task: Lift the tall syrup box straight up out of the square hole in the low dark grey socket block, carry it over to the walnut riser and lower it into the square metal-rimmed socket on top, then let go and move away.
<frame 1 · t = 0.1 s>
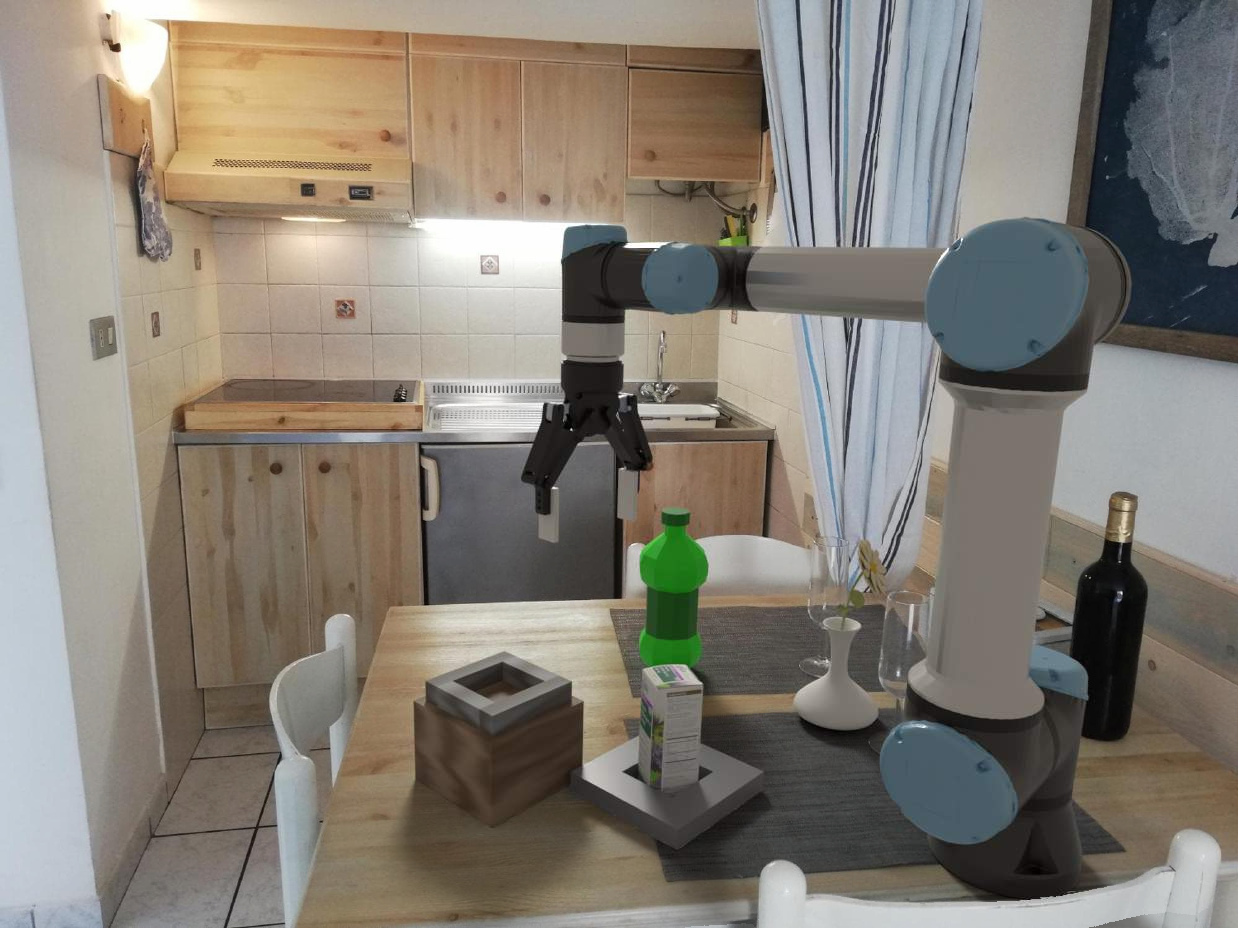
hand: (589, 529, 116), 28 cm above the table, tool pointing down, fingers open, 13 cm apart
plastic bottle: (669, 670, 142), on the table
low socket block: (666, 790, 109), on the table
flower in vase: (838, 717, 129), on the table
raised socket: (499, 777, 111), on the table
syrup box: (667, 790, 109), resting in low socket block
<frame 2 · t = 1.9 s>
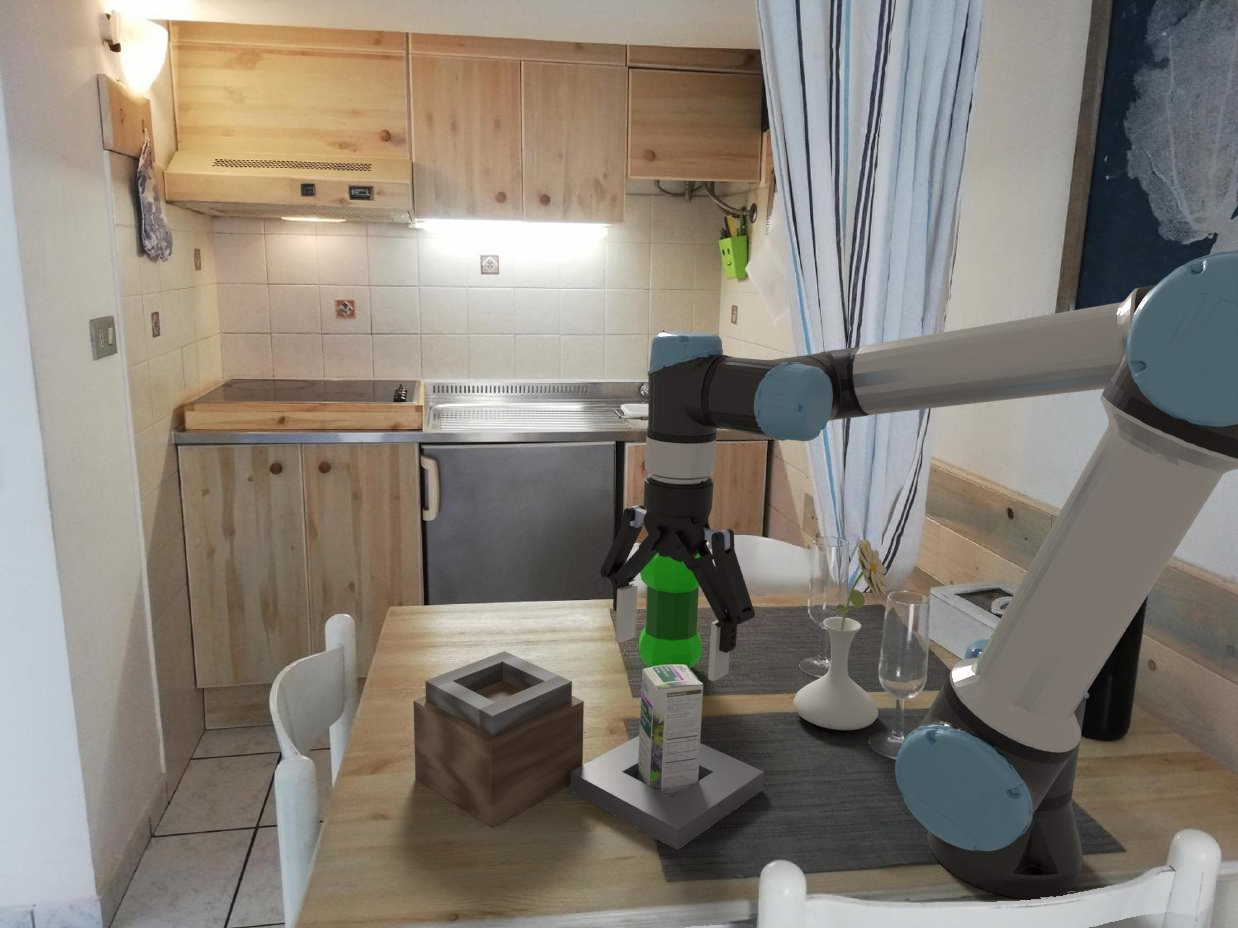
hand: (669, 657, 106), 17 cm above the table, tool pointing down, fingers open, 13 cm apart
nothing on the table moved.
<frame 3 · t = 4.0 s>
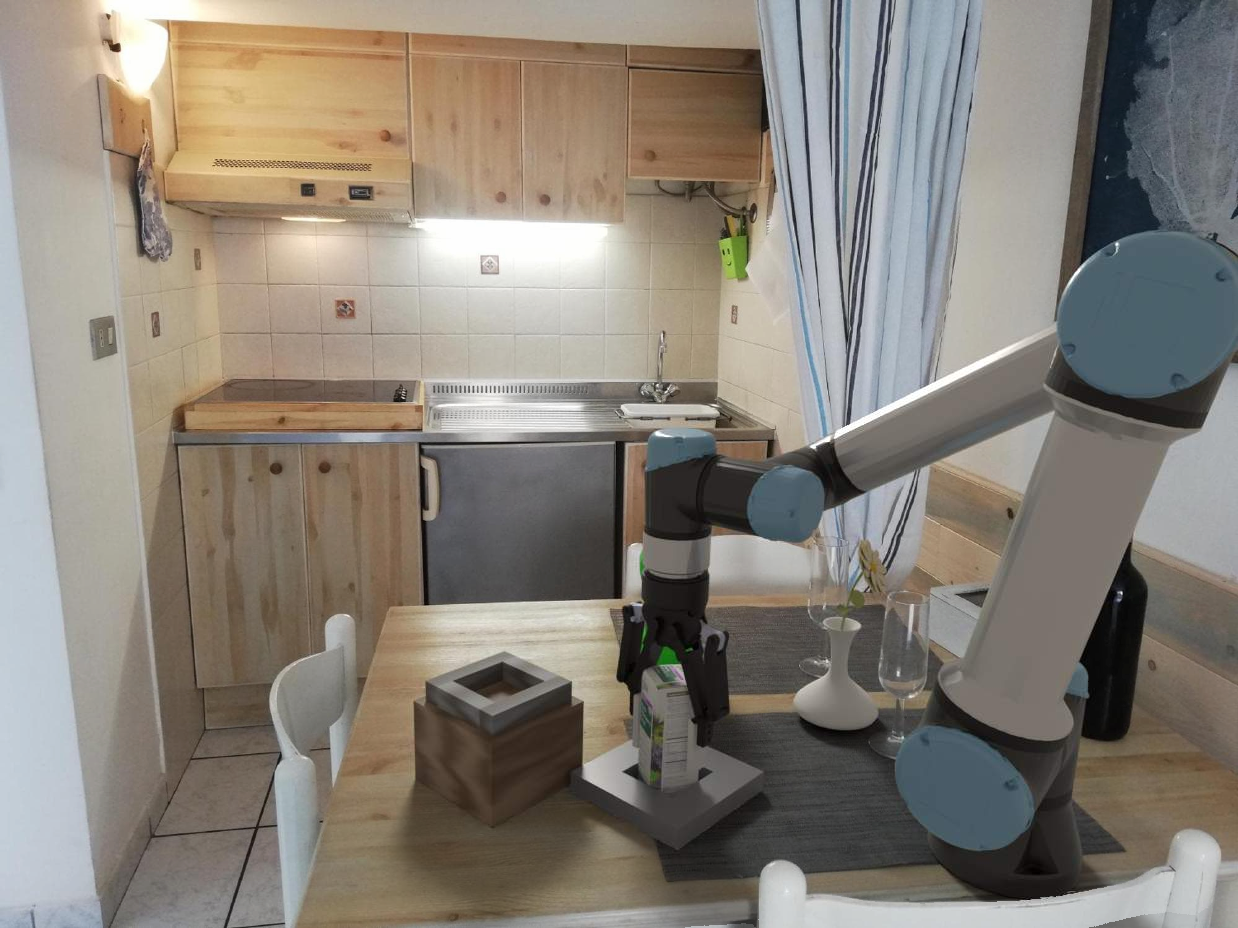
hand: (668, 755, 108), 5 cm above the table, tool pointing down, fingers closed on syrup box, 7 cm apart
syrup box: (667, 790, 109), resting in low socket block, touching gripper
everything else where it was.
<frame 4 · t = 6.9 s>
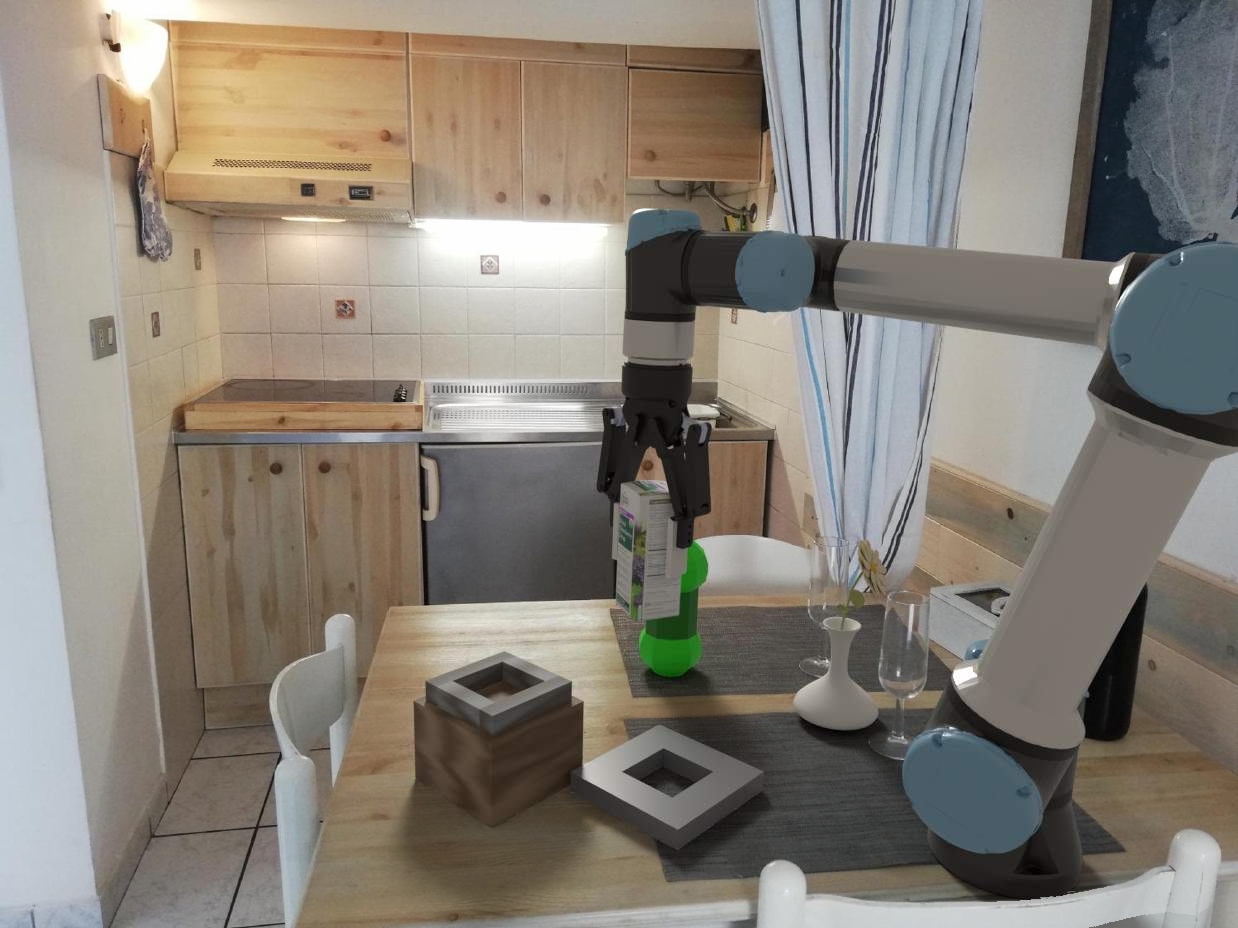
hand: (648, 565, 104), 28 cm above the table, tool pointing down, fingers closed on syrup box, 7 cm apart
syrup box: (647, 611, 105), point 22 cm above the table, touching gripper
everything else where it was.
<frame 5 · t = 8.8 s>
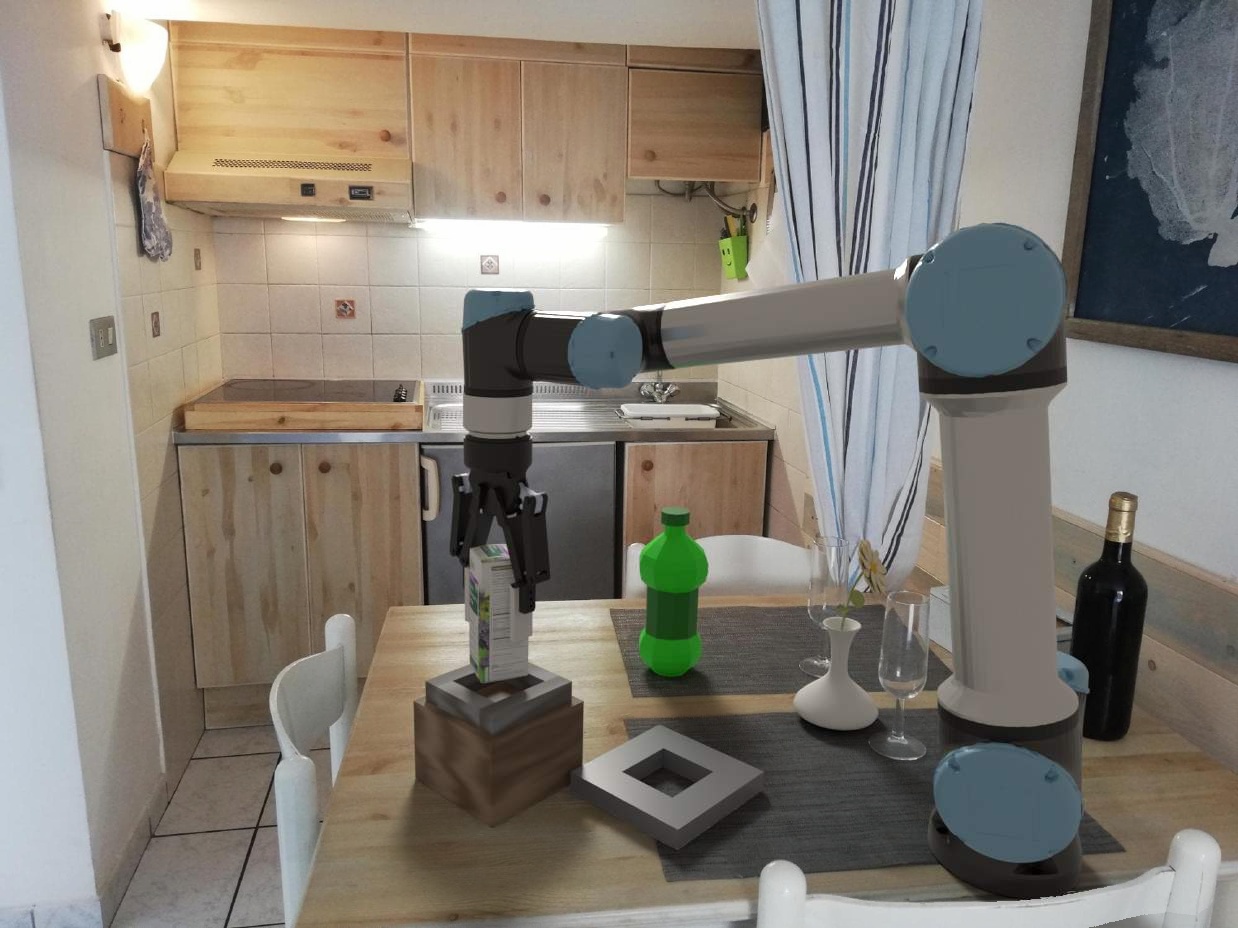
hand: (498, 627, 107), 19 cm above the table, tool pointing down, fingers closed on syrup box, 7 cm apart
syrup box: (499, 671, 108), point 14 cm above the table, touching gripper
everything else where it was.
when the fingers open (16 cm above the table, at t = 10.2 s): syrup box stays where it is, resting on raised socket.
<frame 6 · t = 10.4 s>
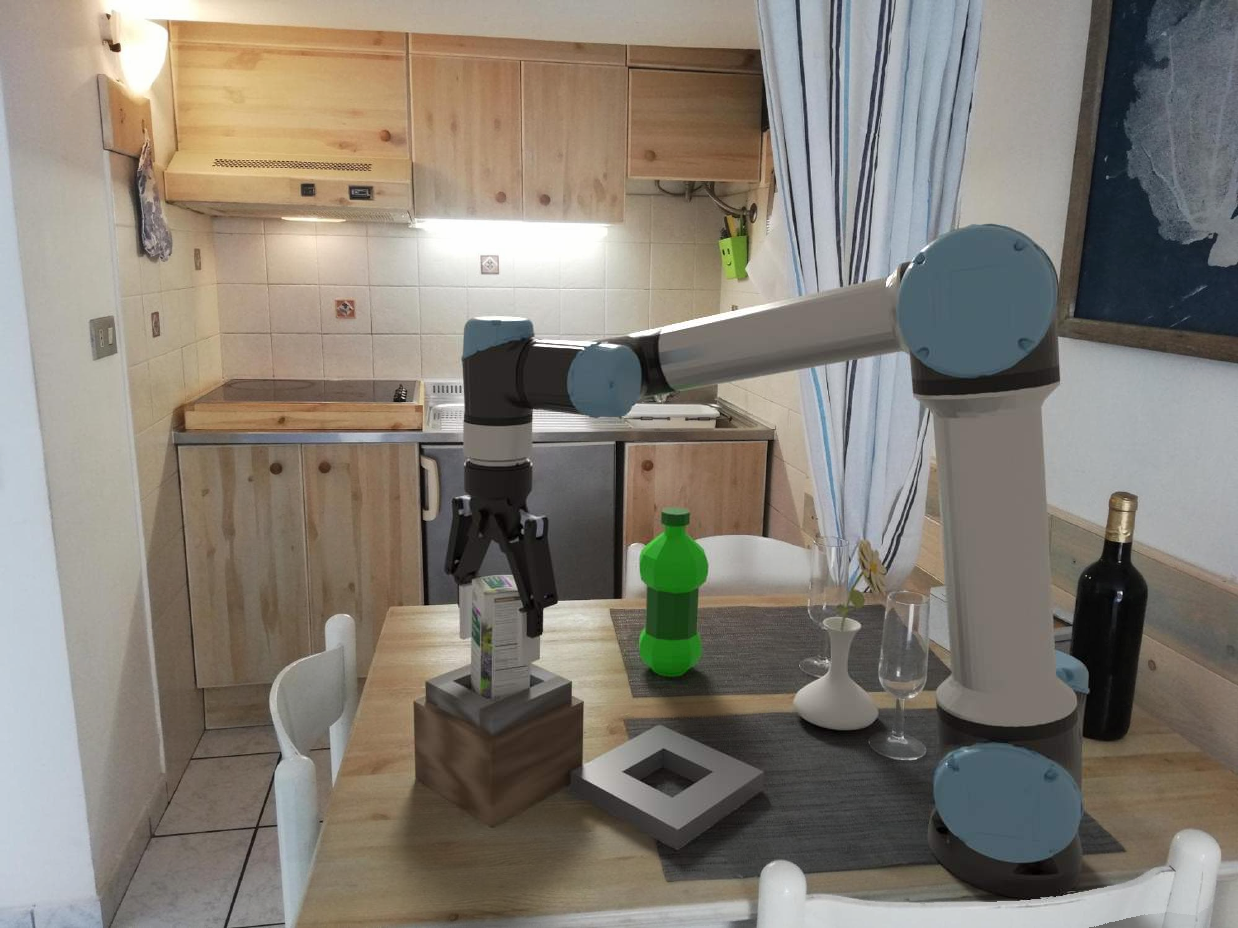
hand: (498, 648, 108), 17 cm above the table, tool pointing down, fingers open, 9 cm apart
syrup box: (500, 702, 109), point 10 cm above the table, touching raised socket
everything else where it was.
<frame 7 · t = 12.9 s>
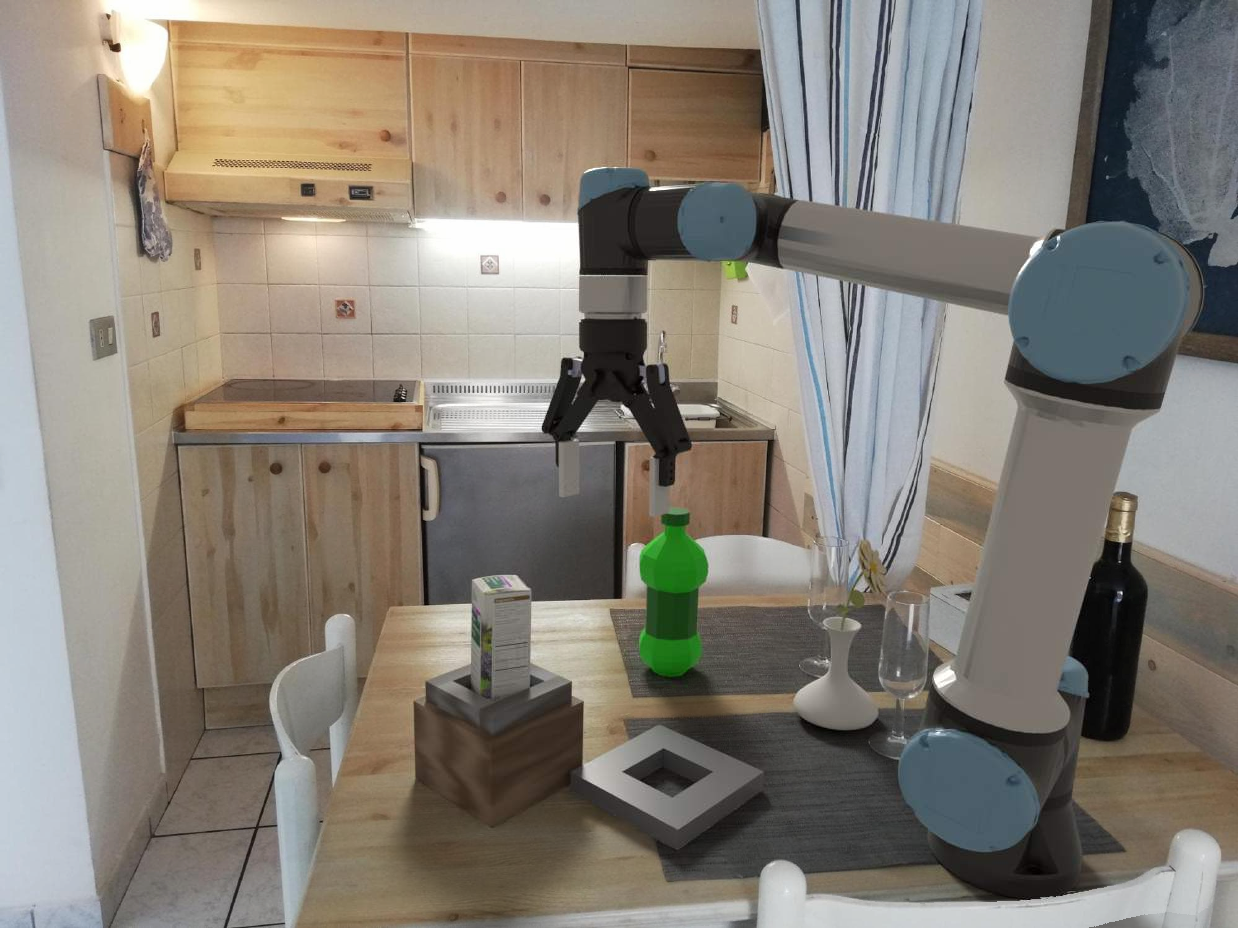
hand: (612, 504, 107), 33 cm above the table, tool pointing down, fingers open, 13 cm apart
nothing on the table moved.
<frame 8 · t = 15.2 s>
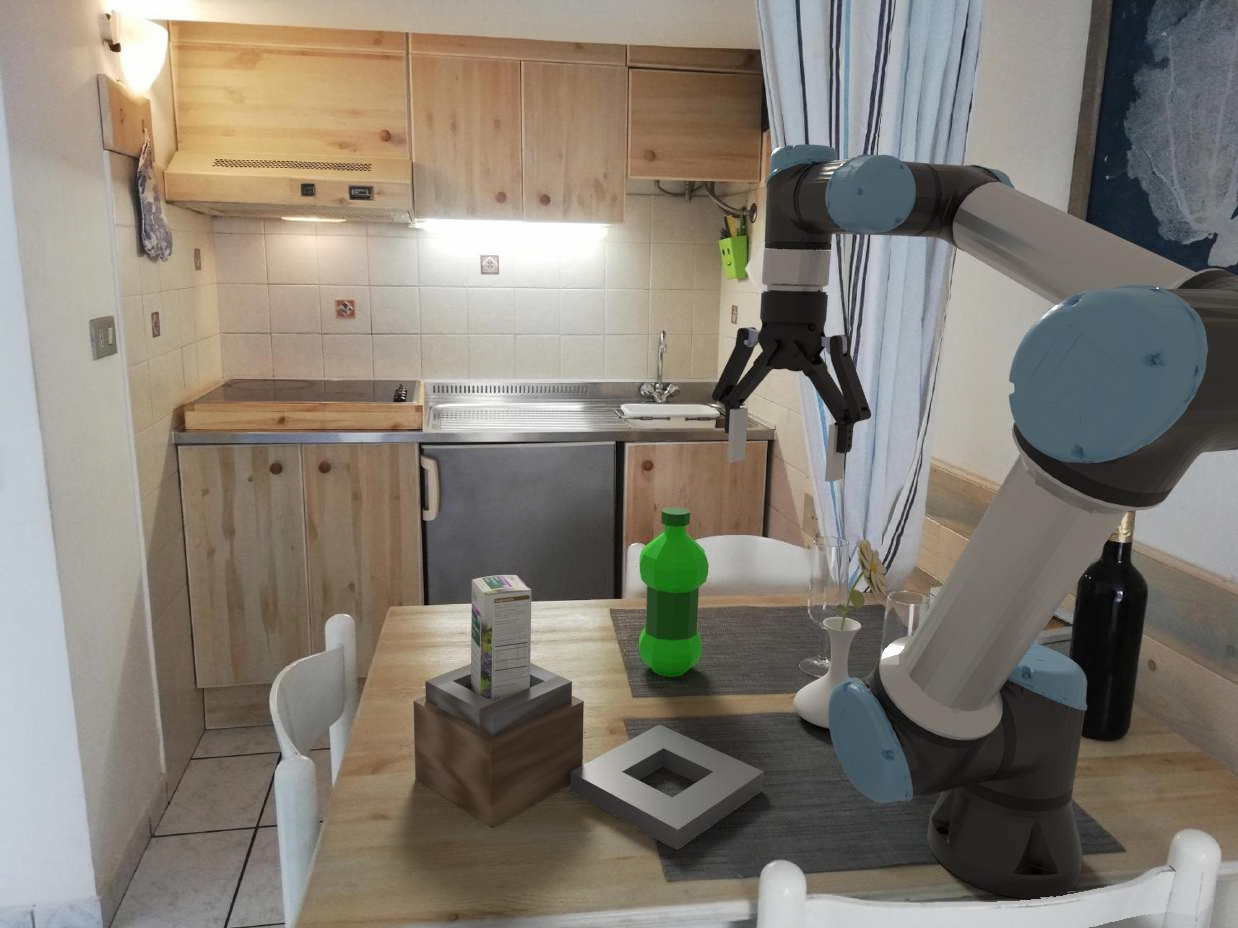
hand: (783, 470, 111), 37 cm above the table, tool pointing down, fingers open, 13 cm apart
nothing on the table moved.
at the end: syrup box 0.2 cm off-centre on the raised socket, point 9.8 cm above the raised socket's base; syrup box tilted 0°; the gripper is holding nothing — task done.
